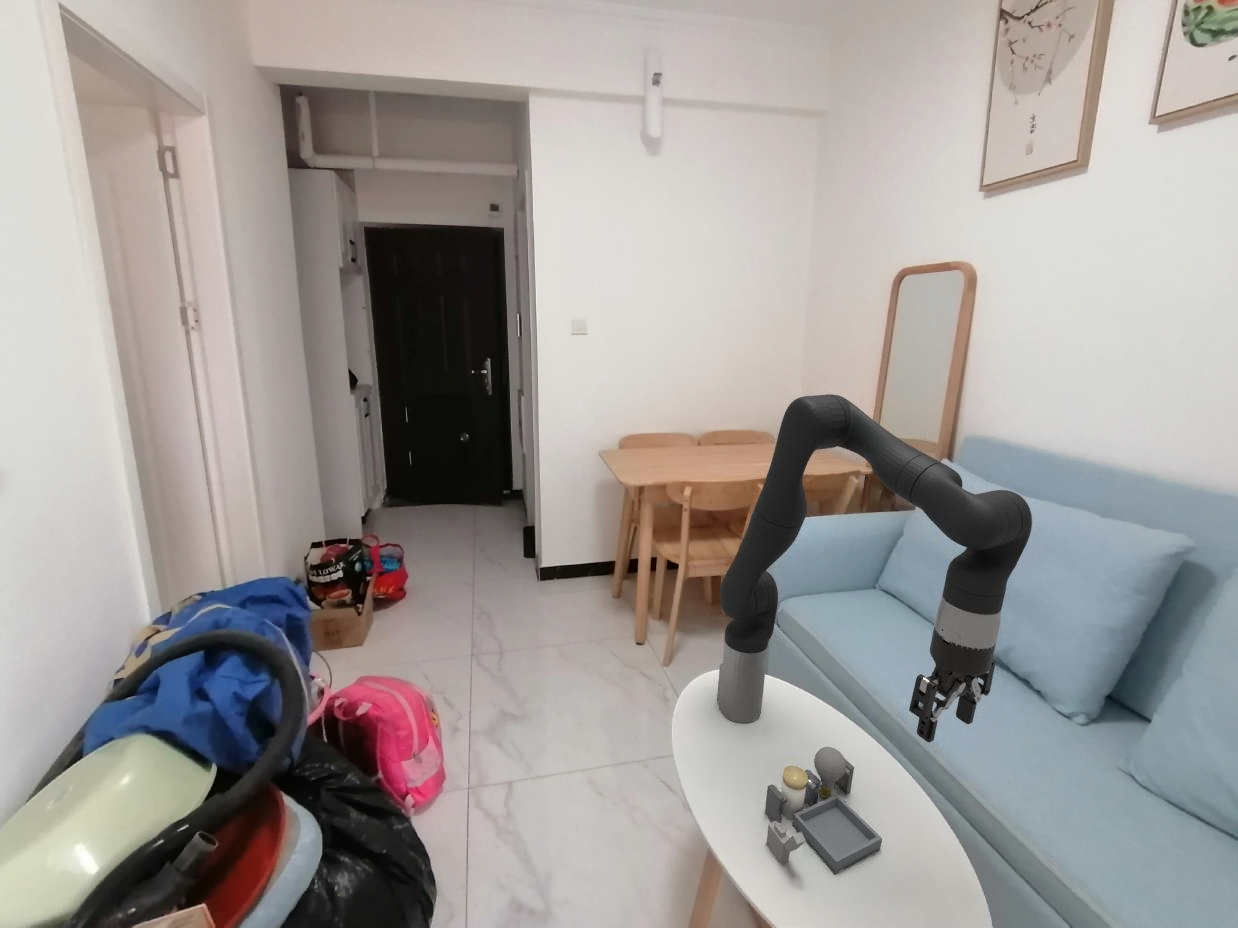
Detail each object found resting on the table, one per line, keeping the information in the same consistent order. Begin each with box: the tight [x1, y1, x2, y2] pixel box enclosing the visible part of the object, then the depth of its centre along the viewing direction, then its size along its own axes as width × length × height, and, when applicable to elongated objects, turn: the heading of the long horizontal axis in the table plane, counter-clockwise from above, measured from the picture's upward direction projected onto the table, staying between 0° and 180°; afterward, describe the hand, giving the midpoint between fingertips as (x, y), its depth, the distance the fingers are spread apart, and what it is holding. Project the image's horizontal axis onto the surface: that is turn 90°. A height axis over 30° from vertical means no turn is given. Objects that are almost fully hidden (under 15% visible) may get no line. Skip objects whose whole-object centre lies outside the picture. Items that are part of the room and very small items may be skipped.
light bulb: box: [813, 746, 846, 798], centre depth 110 cm, size 6×6×10 cm
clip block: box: [764, 757, 855, 824], centre depth 109 cm, size 3×17×6 cm, turn 116°
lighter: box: [765, 821, 806, 865], centre depth 98 cm, size 7×2×8 cm, turn 23°
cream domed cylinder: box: [780, 765, 808, 821], centre depth 107 cm, size 4×4×8 cm
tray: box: [791, 794, 883, 875], centre depth 103 cm, size 10×10×2 cm
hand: (944, 729), depth 87 cm, fingers open, 8 cm apart
